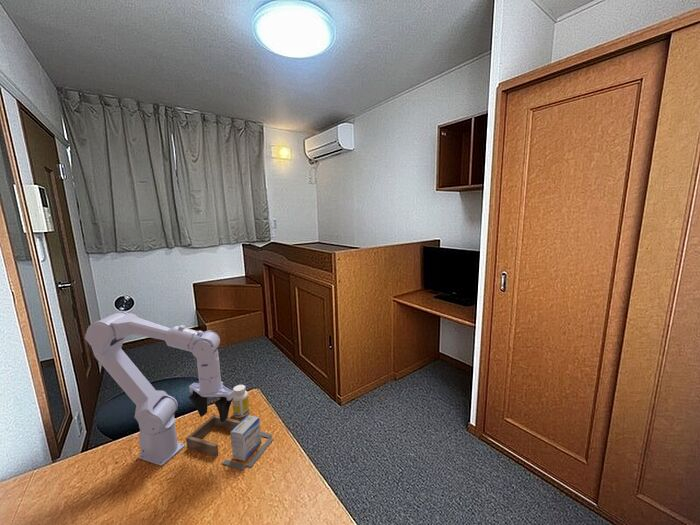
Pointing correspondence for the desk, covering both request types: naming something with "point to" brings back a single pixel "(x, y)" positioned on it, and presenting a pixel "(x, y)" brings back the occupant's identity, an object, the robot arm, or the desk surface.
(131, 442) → the desk surface
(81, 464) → the desk surface
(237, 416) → the supplement bottle
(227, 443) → the desk surface
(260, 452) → the frame
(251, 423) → the medicine box
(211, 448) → the walnut shelf
